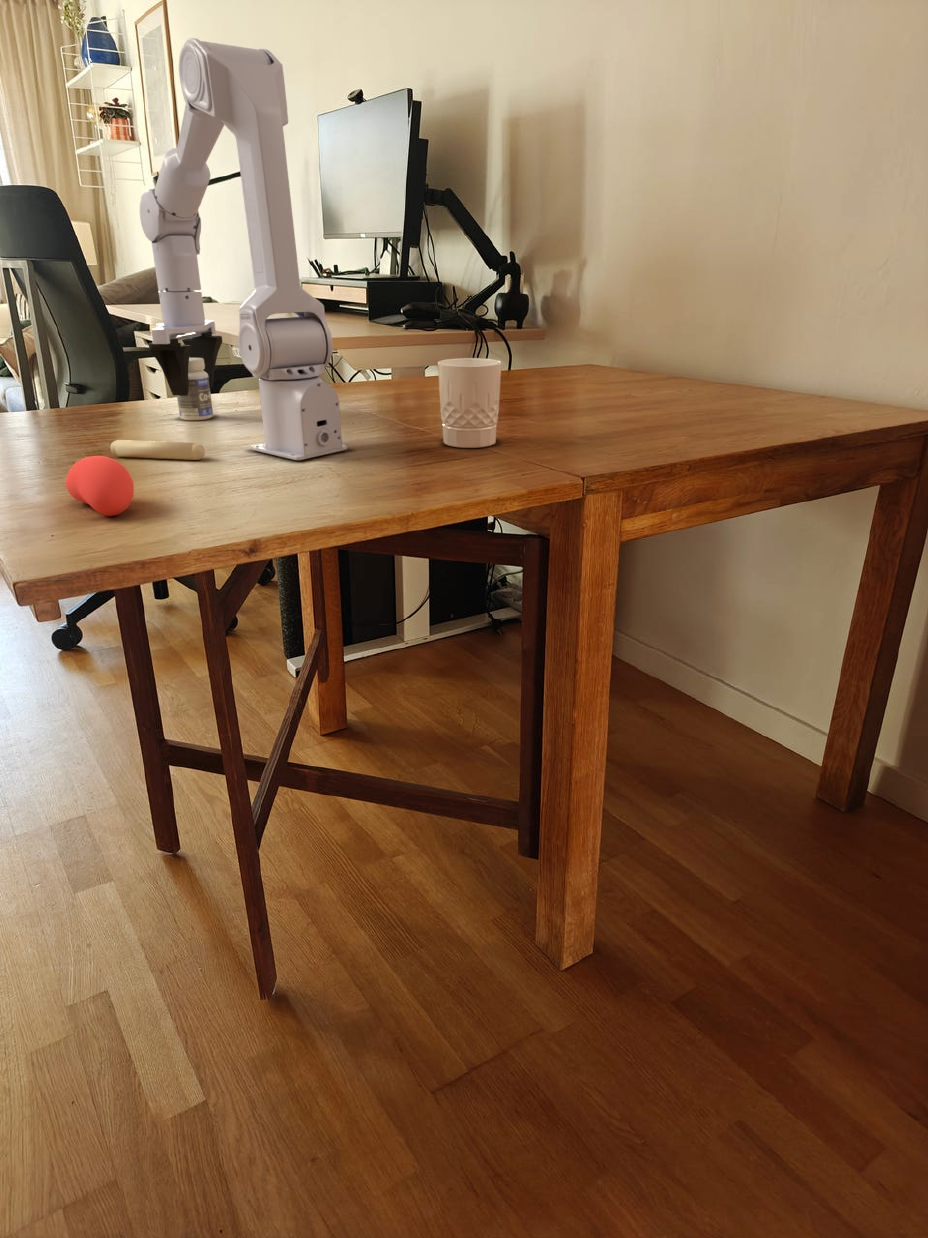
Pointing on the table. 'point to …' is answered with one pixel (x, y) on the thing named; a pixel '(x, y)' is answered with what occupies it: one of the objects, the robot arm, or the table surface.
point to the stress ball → (101, 484)
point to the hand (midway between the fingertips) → (193, 390)
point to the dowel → (158, 449)
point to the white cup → (469, 401)
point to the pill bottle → (196, 393)
